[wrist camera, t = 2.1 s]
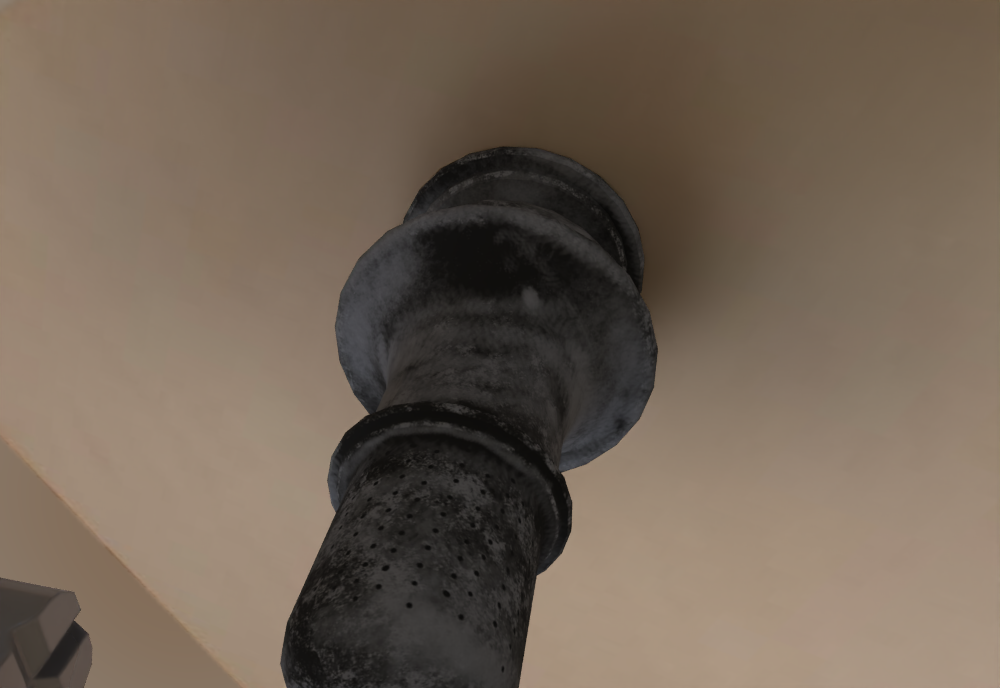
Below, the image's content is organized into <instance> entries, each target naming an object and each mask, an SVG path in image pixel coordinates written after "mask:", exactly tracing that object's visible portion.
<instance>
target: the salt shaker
mask: <svg viewBox="0 0 1000 688" xmlns="http://www.w3.org/2000/svg"><path fill="white" fill-rule="evenodd" d="M643 270H644V254H643V249H642V244H641V240H640V235H639V230H638V227H637V225H636V224H635V222H634V220H633V218H632V216H631V214H630V212H629V211H628V209H627V207H626V205H625V203H624V201H623V200H622V199H621V198H620V197H619V196H618V195H617V194H616V193H615V192H614V191H613V190H612V189H611V187H610V186H609V185H608V184H607V183H606V182H605V181H604V180H603V179H602V178H601V177H600V176H598V175H597V174H595V173H593V172H592V171H590V170H588V169H587V168H585V167H584V166H582V165H580V164H579V163H577V162H575V161H574V160H572V159H570V158H567V157H564V156H561V155H557V154H554V153H551V152H547V151H544V150H541V149H538V148H519V147H499V148H494V149H490V150H485V151H480V152H476V153H471V154H468V155H467V156H465V157H463V158H461V159H459V160H457V161H455V162H453V163H451V164H449V165H448V166H446V167H444V168H442V169H441V170H440V171H439V172H438V173H437V174H435V175H434V176H433V177H432V178H431V179H430V180H429V181H428V182H427V183H426V184H425V185H424V186H423V187H422V188H421V189H420V190H419V192H418V194H417V195H416V197H415V199H414V201H413V203H412V204H411V206H410V208H409V210H408V212H407V213H406V215H405V217H404V221H403V224H401V225H399V226H397V227H395V228H393V229H391V230H389V231H387V232H386V233H385V234H384V235H383V236H382V237H381V238H380V239H379V240H378V241H377V242H375V243H374V244H373V245H372V246H371V247H370V248H369V249H368V250H367V251H366V252H365V253H364V254H363V255H362V256H361V257H360V258H359V259H358V261H357V263H356V265H355V267H354V268H353V270H352V272H351V274H350V276H349V278H348V280H347V282H346V283H345V285H344V287H343V289H342V291H341V294H340V300H339V306H338V311H337V317H336V323H335V331H336V338H337V346H338V353H339V360H340V363H341V366H342V368H343V370H344V372H345V375H346V377H347V379H348V381H349V384H350V386H351V388H352V391H353V393H354V395H355V396H356V397H357V398H358V400H359V401H360V402H361V404H362V405H363V406H364V408H365V409H366V410H367V411H368V413H369V414H370V415H367V416H365V417H364V418H363V419H362V420H360V421H359V422H358V423H357V424H355V425H354V426H353V427H352V428H351V429H349V430H348V431H347V432H346V433H345V434H344V436H343V438H342V439H341V441H340V443H339V444H338V446H337V448H336V449H335V451H334V453H333V455H332V457H331V462H330V468H329V474H328V480H327V481H328V486H329V492H330V498H331V503H332V506H333V508H334V510H335V512H336V514H335V516H334V519H333V521H332V523H331V525H330V528H329V530H328V532H327V534H326V537H325V539H324V541H323V543H322V546H321V548H320V550H319V552H318V555H317V557H316V559H315V561H314V564H313V566H312V568H311V570H310V573H309V575H308V577H307V579H306V581H305V584H304V586H303V588H302V590H301V593H300V595H299V597H298V599H297V602H296V604H295V606H294V608H293V611H292V613H291V615H290V617H289V620H288V622H287V626H286V632H285V637H284V643H283V649H282V656H281V662H280V664H281V668H282V672H283V676H284V680H285V683H286V687H287V688H519V682H520V676H521V670H522V663H523V657H524V651H525V645H526V638H527V632H528V626H529V620H530V614H531V607H532V601H533V595H534V589H535V583H536V576H537V575H538V574H540V573H542V572H544V571H545V570H547V569H548V567H549V566H550V565H551V564H552V563H553V562H554V561H555V560H556V559H557V558H558V557H559V556H560V554H561V553H562V552H563V549H564V547H565V545H566V542H567V540H568V537H569V535H570V533H571V527H572V500H571V497H570V494H569V491H568V488H567V485H566V482H565V478H564V477H563V475H562V474H561V472H564V471H567V470H570V469H573V468H576V467H579V466H582V465H585V464H587V463H589V462H590V461H592V460H594V459H595V458H597V457H598V456H600V455H601V454H603V453H605V452H606V451H608V450H609V449H611V448H612V447H614V446H616V445H617V444H618V443H619V441H620V440H621V439H622V438H623V437H624V436H625V435H626V434H627V432H628V431H629V430H630V429H631V428H632V427H633V426H634V425H635V424H636V422H637V421H638V420H639V419H640V417H641V415H642V412H643V410H644V408H645V406H646V404H647V401H648V399H649V397H650V395H651V393H652V390H653V388H654V381H655V372H656V362H657V353H658V348H657V343H656V339H655V334H654V329H653V325H652V320H651V315H650V311H649V309H648V308H647V306H646V304H645V302H644V300H643V299H642V297H641V295H640V293H641V291H642V281H643Z"/></svg>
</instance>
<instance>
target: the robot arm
mask: <svg viewBox="0 0 1000 688" xmlns="http://www.w3.org/2000/svg"><path fill="white" fill-rule="evenodd" d="M80 611H81V608H80V606H79V603H78V600H77V598H76V595H75V593H74V592H72V591H67V590H61V589H57V588H51V587H46V586H41V585H36V584H30V583H25V582H20V581H15V580H10V579H5V578H0V688H84V686H85V683H86V680H87V677H88V674H89V671H90V668H91V665H92V644H91V641H90V637H89V634H88V633H87V632H86V631H85V630H84V629H83V628H82V627H81V626H80V625H78V624H77V623H76V622H75V621H74V619H75V617H76V616H77V615H78V614H79V612H80Z"/></svg>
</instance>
